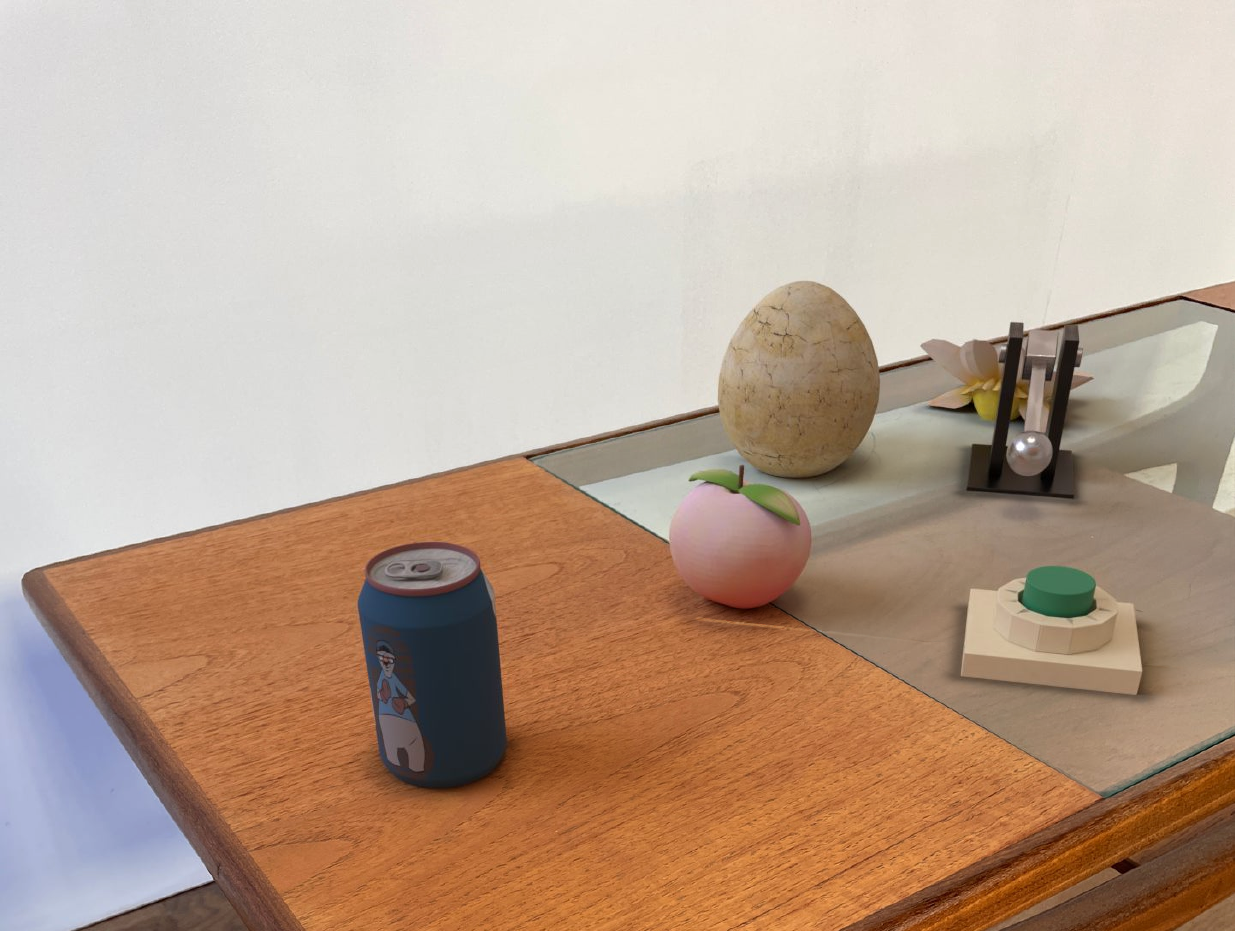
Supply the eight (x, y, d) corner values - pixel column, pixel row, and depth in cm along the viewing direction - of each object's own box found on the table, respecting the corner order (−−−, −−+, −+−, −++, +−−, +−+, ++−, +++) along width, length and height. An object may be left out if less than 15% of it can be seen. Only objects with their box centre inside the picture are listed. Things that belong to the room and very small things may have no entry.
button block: (1126, 634, 82) (1140, 576, 79) (1134, 704, 75) (1149, 643, 72) (965, 618, 84) (974, 562, 82) (959, 685, 77) (968, 625, 75)
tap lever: (1047, 487, 93) (1054, 455, 91) (1001, 483, 94) (1007, 452, 91) (1059, 360, 99) (1066, 326, 96) (1016, 357, 100) (1022, 324, 97)
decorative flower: (1129, 398, 114) (1134, 287, 107) (1070, 462, 109) (1071, 350, 102) (976, 379, 123) (972, 276, 116) (915, 437, 118) (906, 333, 111)
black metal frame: (1071, 509, 98) (1102, 352, 92) (964, 501, 100) (987, 346, 93) (1069, 464, 106) (1097, 316, 99) (970, 457, 108) (991, 311, 101)
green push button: (1089, 595, 78) (1095, 568, 77) (1091, 624, 75) (1097, 597, 74) (1022, 589, 79) (1026, 562, 78) (1021, 617, 76) (1026, 590, 75)
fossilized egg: (686, 484, 104) (689, 290, 96) (761, 438, 113) (770, 256, 104) (828, 515, 99) (845, 312, 90) (895, 464, 107) (917, 274, 98)
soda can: (511, 731, 74) (495, 534, 67) (505, 799, 68) (487, 593, 61) (390, 734, 74) (362, 538, 67) (374, 803, 68) (342, 597, 61)
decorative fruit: (640, 617, 85) (639, 471, 79) (709, 574, 90) (712, 434, 84) (761, 656, 80) (768, 504, 75) (826, 608, 86) (838, 462, 80)
